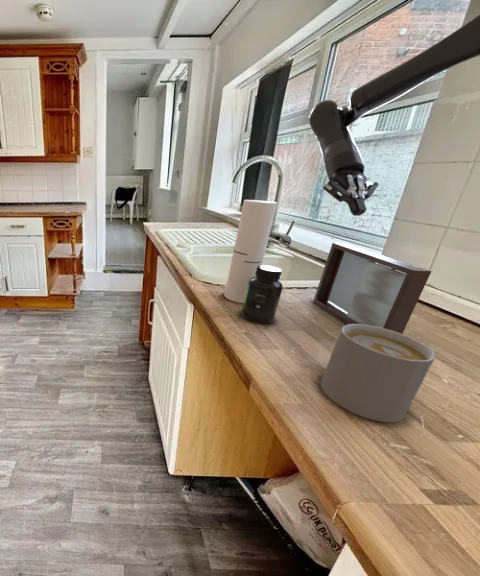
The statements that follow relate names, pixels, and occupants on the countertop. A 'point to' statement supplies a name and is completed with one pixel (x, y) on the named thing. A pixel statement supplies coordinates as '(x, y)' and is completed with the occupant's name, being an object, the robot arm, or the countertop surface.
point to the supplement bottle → (262, 295)
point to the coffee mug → (375, 371)
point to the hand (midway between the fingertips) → (359, 213)
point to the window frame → (375, 290)
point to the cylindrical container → (249, 246)
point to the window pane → (346, 280)
